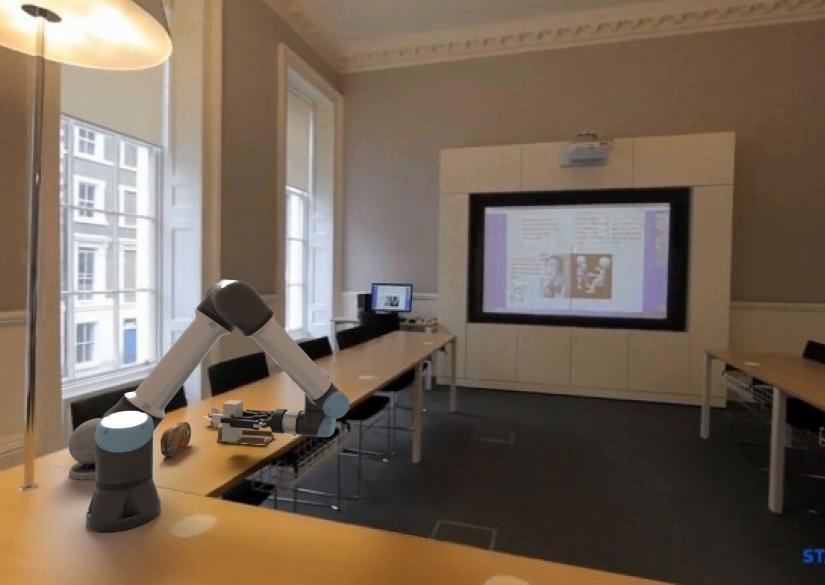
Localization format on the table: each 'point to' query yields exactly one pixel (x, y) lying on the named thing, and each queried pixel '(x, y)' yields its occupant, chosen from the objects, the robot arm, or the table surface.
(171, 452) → the tin
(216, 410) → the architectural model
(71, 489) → the table surface
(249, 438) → the rack
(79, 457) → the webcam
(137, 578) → the table surface
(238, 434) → the clay bar
